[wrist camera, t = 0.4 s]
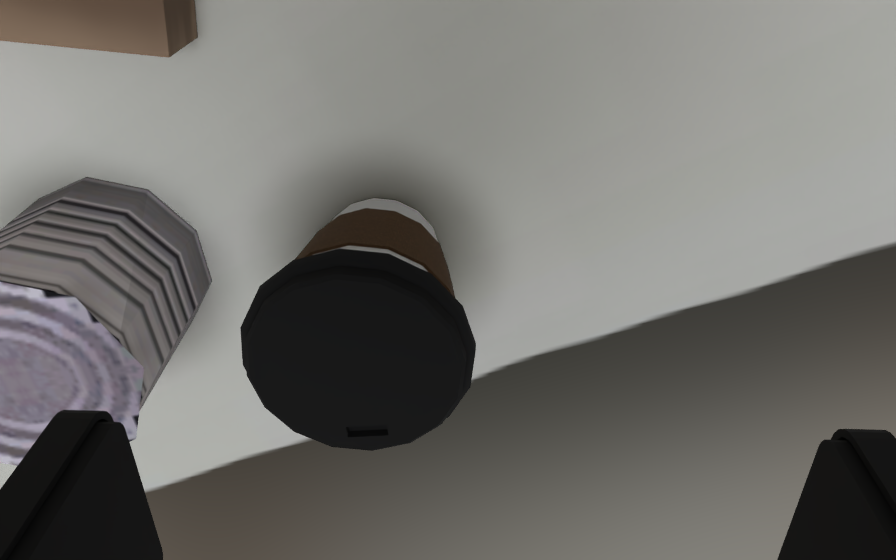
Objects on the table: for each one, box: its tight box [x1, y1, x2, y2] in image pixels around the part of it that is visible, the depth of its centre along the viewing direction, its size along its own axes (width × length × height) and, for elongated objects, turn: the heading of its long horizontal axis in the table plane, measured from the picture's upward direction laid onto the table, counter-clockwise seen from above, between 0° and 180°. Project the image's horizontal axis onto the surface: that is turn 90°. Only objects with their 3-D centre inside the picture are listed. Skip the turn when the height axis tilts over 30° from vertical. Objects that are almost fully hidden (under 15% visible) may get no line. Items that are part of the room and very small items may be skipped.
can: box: [0, 177, 212, 465], centre depth 39 cm, size 11×11×12 cm
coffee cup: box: [241, 198, 476, 450], centre depth 38 cm, size 11×11×12 cm
